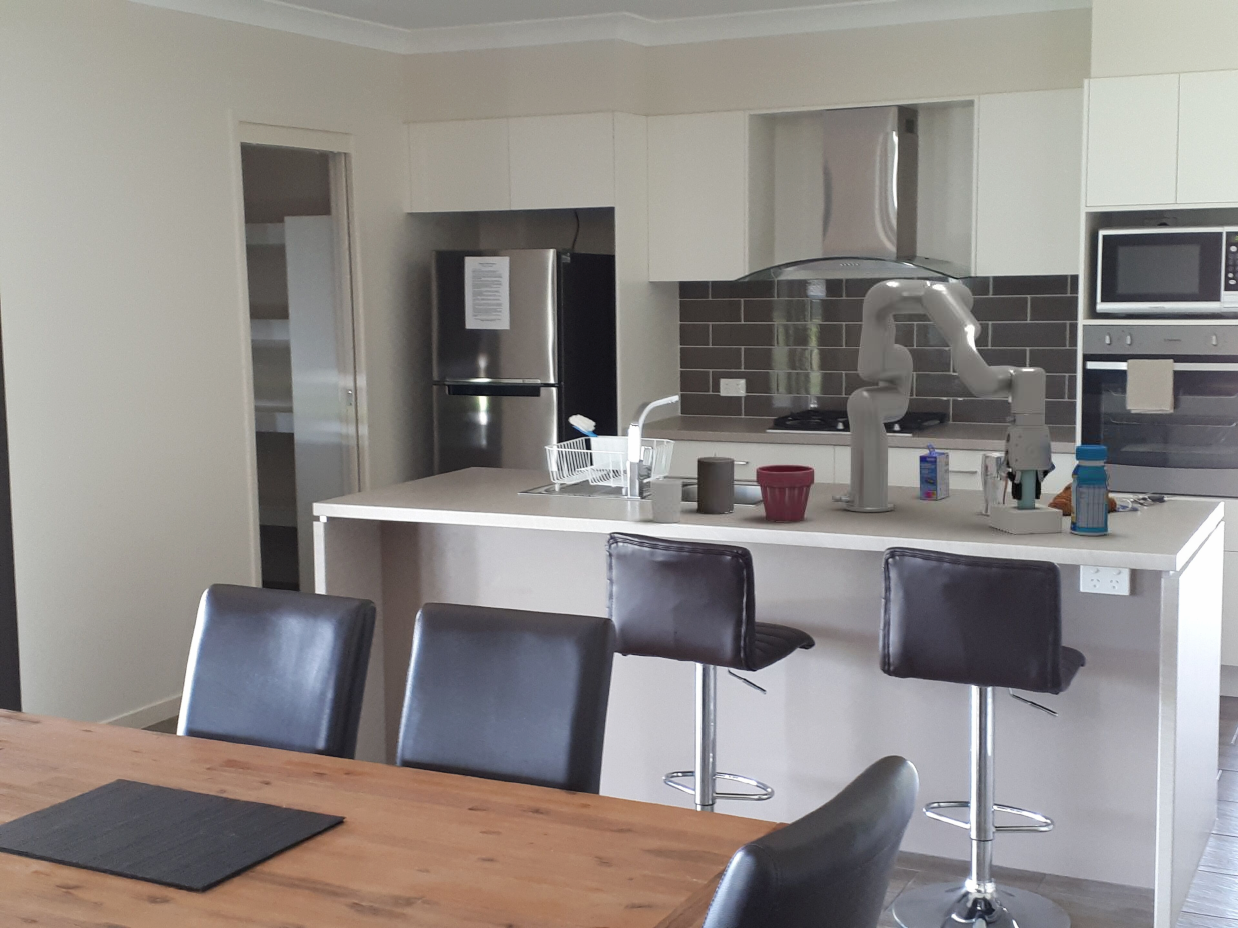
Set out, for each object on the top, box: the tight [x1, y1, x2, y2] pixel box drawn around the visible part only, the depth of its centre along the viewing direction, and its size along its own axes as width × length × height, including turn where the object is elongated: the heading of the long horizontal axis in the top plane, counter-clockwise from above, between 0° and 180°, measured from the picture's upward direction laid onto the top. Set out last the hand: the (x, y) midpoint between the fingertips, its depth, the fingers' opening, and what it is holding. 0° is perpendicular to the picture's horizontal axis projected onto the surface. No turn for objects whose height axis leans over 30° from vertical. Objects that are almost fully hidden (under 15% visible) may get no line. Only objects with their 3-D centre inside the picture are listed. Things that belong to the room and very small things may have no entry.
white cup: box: [649, 478, 683, 524], centre depth 329 cm, size 8×8×10 cm
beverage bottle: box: [1069, 444, 1111, 537], centre depth 304 cm, size 8×8×20 cm
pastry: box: [1047, 482, 1118, 516], centre depth 336 cm, size 17×15×8 cm
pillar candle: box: [696, 453, 735, 515], centre depth 344 cm, size 10×10×15 cm
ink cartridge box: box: [918, 444, 950, 501], centre depth 364 cm, size 10×6×14 cm, turn 148°
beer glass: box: [980, 452, 1011, 516], centre depth 334 cm, size 7×7×15 cm
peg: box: [1016, 470, 1036, 510], centre depth 311 cm, size 4×4×14 cm
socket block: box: [988, 502, 1063, 535], centre depth 311 cm, size 12×12×5 cm
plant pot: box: [755, 464, 815, 522], centre depth 330 cm, size 14×14×13 cm
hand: (1026, 498), depth 311 cm, fingers closed on peg, 4 cm apart
